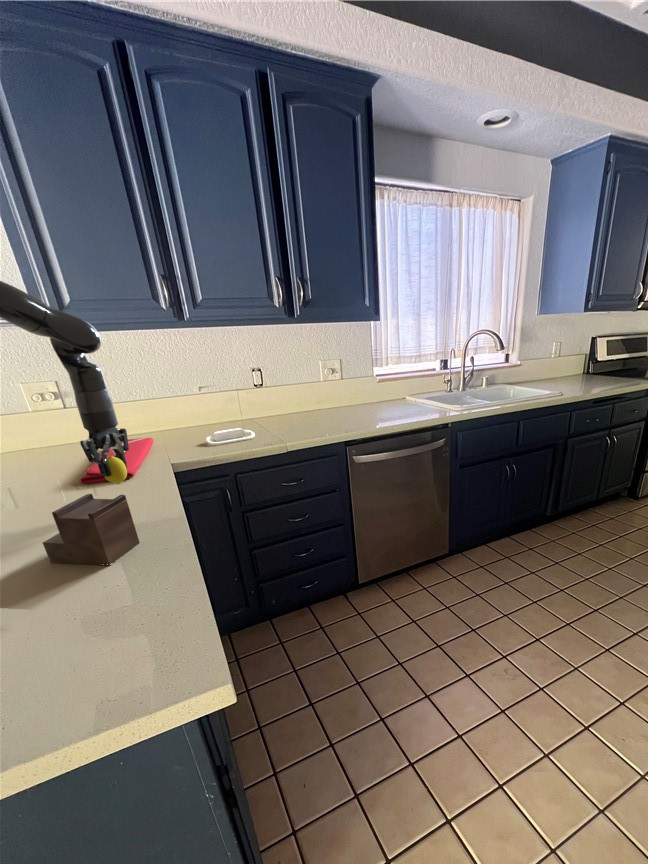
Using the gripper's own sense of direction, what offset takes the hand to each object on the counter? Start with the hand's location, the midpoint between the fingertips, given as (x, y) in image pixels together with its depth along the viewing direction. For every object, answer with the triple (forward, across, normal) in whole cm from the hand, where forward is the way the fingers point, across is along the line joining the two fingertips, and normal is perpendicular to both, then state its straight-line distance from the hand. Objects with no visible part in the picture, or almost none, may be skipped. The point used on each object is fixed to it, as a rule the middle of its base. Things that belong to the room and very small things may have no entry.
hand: (115, 472), depth 114 cm
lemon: (+4, 0, 0) cm, 4 cm away
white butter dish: (+10, -68, -1) cm, 69 cm away
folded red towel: (+10, -37, -28) cm, 48 cm away
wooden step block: (+11, +24, +10) cm, 28 cm away
